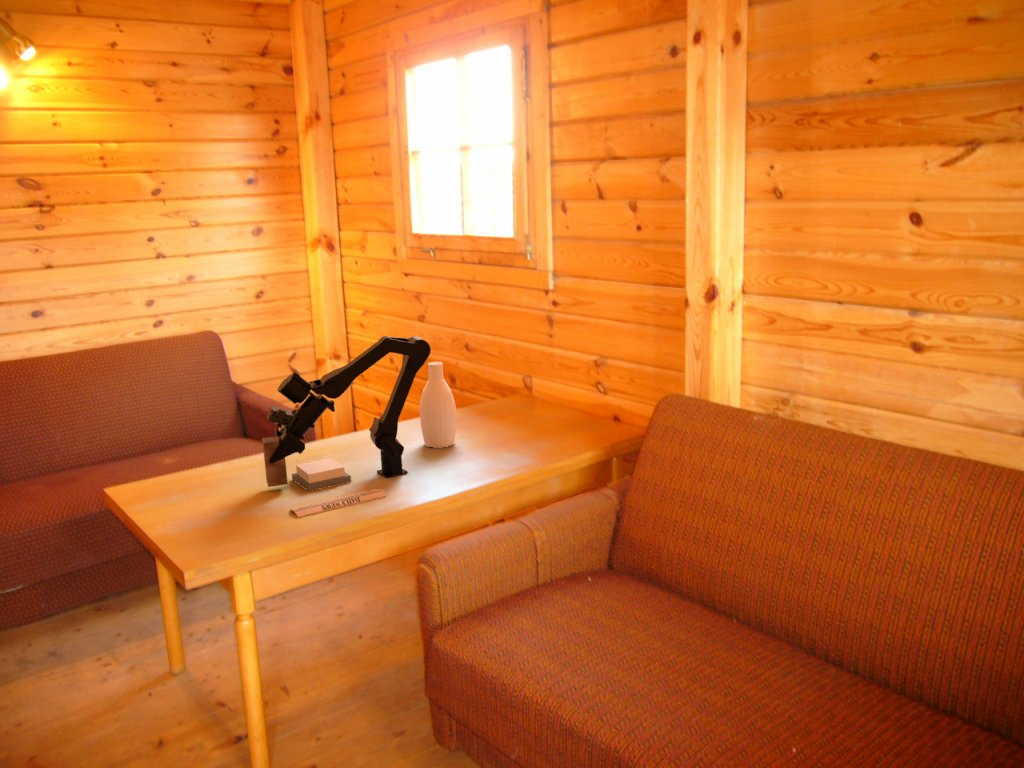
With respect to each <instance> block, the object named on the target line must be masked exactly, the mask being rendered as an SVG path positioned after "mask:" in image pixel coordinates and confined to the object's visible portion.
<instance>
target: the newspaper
mask: <svg viewBox="0 0 1024 768" xmlns="http://www.w3.org/2000/svg"><path fill="white" fill-rule="evenodd" d="M381 497H384V498H386V497H387V495H386V493H385V492H384V491H383V490H382V489H379V488H375V489H372V490H367V491H366V490H365V491H363V492H362V491H361V492H358V493H354V494H348V495H345V496H341V497H336V498H333V499H328V500H324V501H320V502H317V503H311V504H308V505H304V506H298V507H295V508H291V509H289V511H290V510H291V511H290V512H294V513H295V515H296V516H297V518H298V517H300V518H303V517H302V516H305V517H307V516H306V515H309V516H312V515H311V514H313V515H316V514H315V513H317V514H320V513H319V512H321V513H324V512H323V511H325V512H329V511H328V510H330V511H333V510H332V509H334V510H337V509H336V508H338V509H341V508H340V507H342V508H346V507H349V506H348V505H350V506H354V504H355V505H358V503H359V504H361V503H362V502H363V503H367V502H371V501H374V499H375V500H378V498H379V499H382V498H381ZM370 500H371V501H370ZM366 501H367V502H366ZM345 506H346V507H345Z"/></svg>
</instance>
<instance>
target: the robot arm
mask: <svg viewBox="0 0 1024 768" xmlns="http://www.w3.org/2000/svg"><path fill="white" fill-rule="evenodd" d="M431 350H432V348H431V346H430V344H429V342H428V341H426V340H425V339H423V338H421V337H420V336H416V335H415V336H413V335H412V336H411V337H408V338H406V337H395V336H394V337H393V336H389V335H384V336H383V335H382V337H380V338H379V340H378V341H376V342H375V343H374V344H372V345H371V346H370V347H368V348H367V349H365V350H364V351H363V352H362V353H360V354H359V355H358V356H356V357H355V358H354V359H352V360H351V361H350V362H348V363H347V364H345V365H343V366H341V367H339V368H336V369H334V370H332V371H330V372H328V373H325V374H324V375H323V376H322V377H321V378H319V379H315V380H311V381H307V380H306V379H304V378H303V377H302V376H301V375H300V374H299V373H298V372H297V371H295V370H294V371H293V372H292V373H291V374H289V375H288V376H287V377H286V378H284V379H283V380H282V382H281V383H280V384H279V386H278V388H277V392H278V394H279V393H280V394H281V395H282V396H284V397H285V398H286V399H287V400H289V401H290V402H292V404H294V405H295V404H297V403H298V404H300V406H299V407H298V408H294V409H292V411H288V410H285V409H283V408H279V407H275V406H273V405H272V406H270V408H269V409H268V413H267V416H266V419H267V421H268V422H270V423H274V424H275V428H274V430H275V437H276V436H278V438H279V445H278V446H277V448H276V450H275V451H274V453H273V455H272V456H271V458H270V460H269V462H270V463H271V464H273V463H275V462H277V461H279V460H281V459H283V458H285V459H286V458H287V457H289V456H292V455H294V454H295V453H296V454H297V453H298V454H300V455H301V454H302V453H303V452H304V451H305V450H306V443H305V441H304V439H305V435H306V434H307V432H309V430H310V429H314V428H315V426H316V425H315V423H317V421H318V420H319V418H320V417H321V416H322V415H323V414H324V412H326V410H330V411H331V412H332V413H334V412H335V411H336V409H335V399H338V398H339V397H341V396H342V395H343V394H344V393H345V392H346V391H347V390H348V389H349V387H350V386H351V385H352V383H353V382H354V381H355V380H356V379H357V377H360V376H361V374H363V373H364V372H365V371H367V370H368V369H370V368H371V367H373V365H375V364H376V363H377V362H380V360H382V359H384V357H386V356H387V355H388V354H389V353H393V354H397V355H398V354H399V355H402V362H401V368H400V369H399V370H400V371H399V373H398V375H397V378H396V381H395V383H394V386H393V389H392V391H391V393H390V396H389V399H388V401H387V404H386V406H385V409H384V411H383V413H382V415H381V416H380V417H379V418H378V417H376V416H374V417H373V420H372V424H371V427H370V428H369V429H368V430H369V432H370V433H369V437H370V440H371V441H372V443H373V445H374V446H375V447H376V448H377V449H378V450H380V465H381V466H380V467H381V469H377V470H376V472H377V474H379V475H381V476H383V477H385V478H388V479H389V478H393V477H396V476H400V475H405V474H408V473H409V472H408V470H406V469H405V468H403V457H402V455H404V450H405V447H404V445H403V444H401V442H400V441H399V440H398V439H397V436H398V428H399V419H400V417H401V413H402V411H403V409H404V406H405V403H406V401H407V398H408V396H409V394H410V391H411V389H412V386H413V383H414V381H415V378H416V375H417V373H418V372H419V371H420V370H421V368H422V367H423V366H424V365H425V363H426V361H427V360H428V358H429V356H430V355H431ZM327 398H328V399H327ZM329 399H331V400H329ZM333 399H334V400H333ZM277 427H278V428H277ZM279 436H281V437H279Z"/></svg>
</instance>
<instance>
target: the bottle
mask: <svg viewBox="0 0 1024 768" xmlns="http://www.w3.org/2000/svg"><path fill="white" fill-rule="evenodd" d="M443 364H444V363H443V362H442V361H432V362H428V363H427V366H428V380H427V381H426V384H425V386H424V388H423V389H422V393H421V396H420V399H419V400H420V401H419V416H420V427H421V433H422V438H423V443H424V445H425V446H426V447H427V446H428V447H427V448H429V447H433V448H432V449H437V448H438V449H444V448H443V447H447V446H450V445H452V444H453V445H454V443H455V441H456V440H455V439H456V433H457V432H456V431H457V407H456V402H455V399H454V398H455V397H454V395H453V392H452V389H451V388H450V386H449V385H448V383H447V382H446V379H444V368H443V367H444V366H443ZM453 445H452V446H453ZM450 447H451V446H450ZM447 448H448V447H447Z"/></svg>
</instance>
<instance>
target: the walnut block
mask: <svg viewBox="0 0 1024 768" xmlns="http://www.w3.org/2000/svg"><path fill="white" fill-rule="evenodd" d="M279 437H281V436H279ZM261 442H262V450H263V451H262V452H263V459H264V460H263V461H264V468H265V470H264V471H265V478H266V484H267V487H268V488H270V487H279V486H285V485H289V483H288V474H287V473H288V472H287V464H286V457H285V458H283V459H281V460H279V461H277V462H275V463H273V464H271V463H270V462H269V460H270V458H271V456H272V455H273V453H274V451H275V450H276V448H277V446H278V445H279V438H278V436H276V435H275V436H271V437H270V436H269V437H262V438H261Z"/></svg>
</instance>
